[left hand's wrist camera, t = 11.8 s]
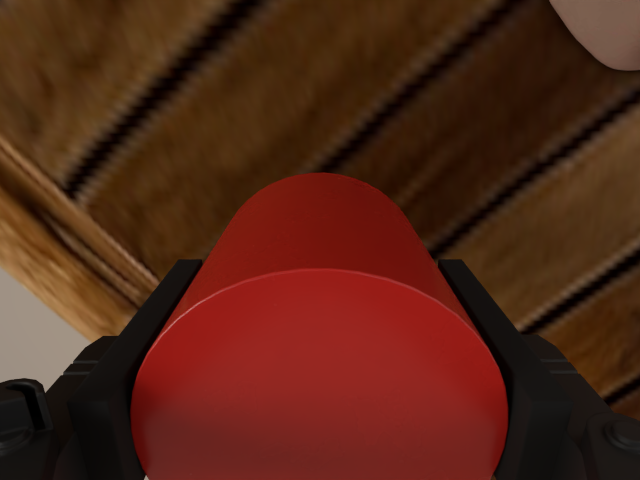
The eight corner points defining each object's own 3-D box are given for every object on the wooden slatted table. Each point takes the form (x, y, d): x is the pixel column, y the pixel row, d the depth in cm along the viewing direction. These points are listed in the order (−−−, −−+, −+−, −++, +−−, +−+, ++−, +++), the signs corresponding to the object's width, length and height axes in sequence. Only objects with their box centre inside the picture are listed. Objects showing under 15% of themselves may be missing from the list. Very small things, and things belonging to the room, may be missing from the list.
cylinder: (280, 381, 18) (252, 599, 10) (179, 231, 16) (47, 372, 8) (450, 309, 17) (556, 498, 9) (368, 133, 14) (422, 192, 7)
